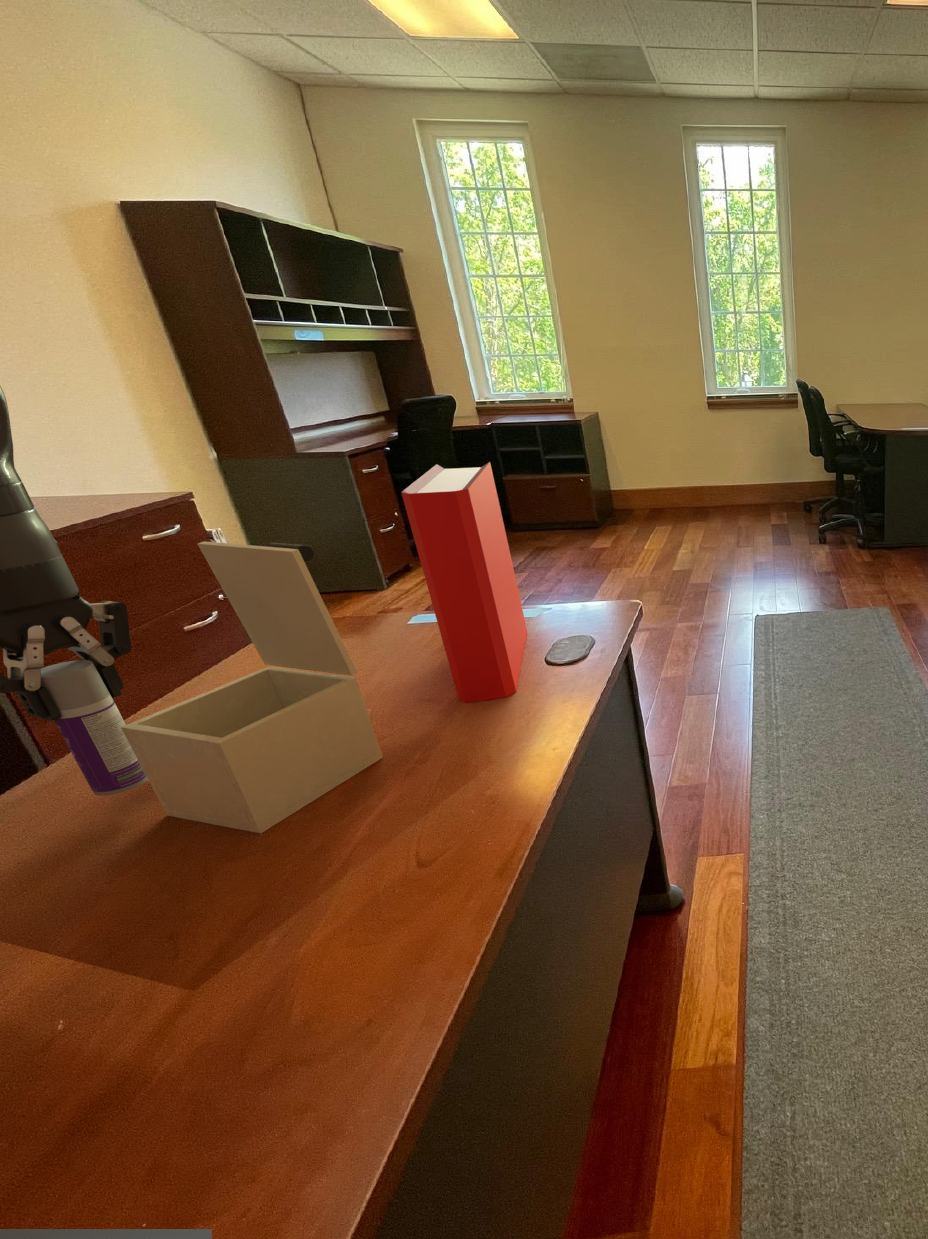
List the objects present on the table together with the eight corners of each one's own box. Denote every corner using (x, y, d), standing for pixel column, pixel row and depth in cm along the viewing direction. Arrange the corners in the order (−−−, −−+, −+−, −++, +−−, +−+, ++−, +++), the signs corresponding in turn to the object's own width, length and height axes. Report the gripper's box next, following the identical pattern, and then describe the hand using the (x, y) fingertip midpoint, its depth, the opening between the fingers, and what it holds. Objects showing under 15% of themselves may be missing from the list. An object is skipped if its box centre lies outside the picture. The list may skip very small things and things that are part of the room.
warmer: (260, 833, 74) (219, 743, 69) (166, 815, 77) (120, 727, 72) (383, 757, 88) (356, 677, 83) (300, 744, 91) (268, 666, 86)
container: (82, 792, 76) (17, 674, 70) (132, 769, 80) (75, 657, 74) (112, 798, 75) (49, 680, 69) (161, 775, 79) (105, 662, 73)
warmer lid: (291, 551, 74) (334, 534, 79) (196, 543, 77) (243, 527, 82) (352, 675, 83) (387, 654, 87) (264, 664, 86) (303, 644, 90)
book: (480, 638, 125) (436, 464, 112) (527, 632, 127) (490, 461, 114) (457, 704, 101) (398, 494, 88) (515, 695, 104) (466, 490, 91)
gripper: (68, 538, 74) (134, 675, 81) (-133, 575, 61) (-35, 735, 68) (119, 543, 72) (182, 682, 79) (-77, 583, 59) (18, 745, 66)
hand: (81, 706), depth 73 cm, fingers closed on container, 4 cm apart
